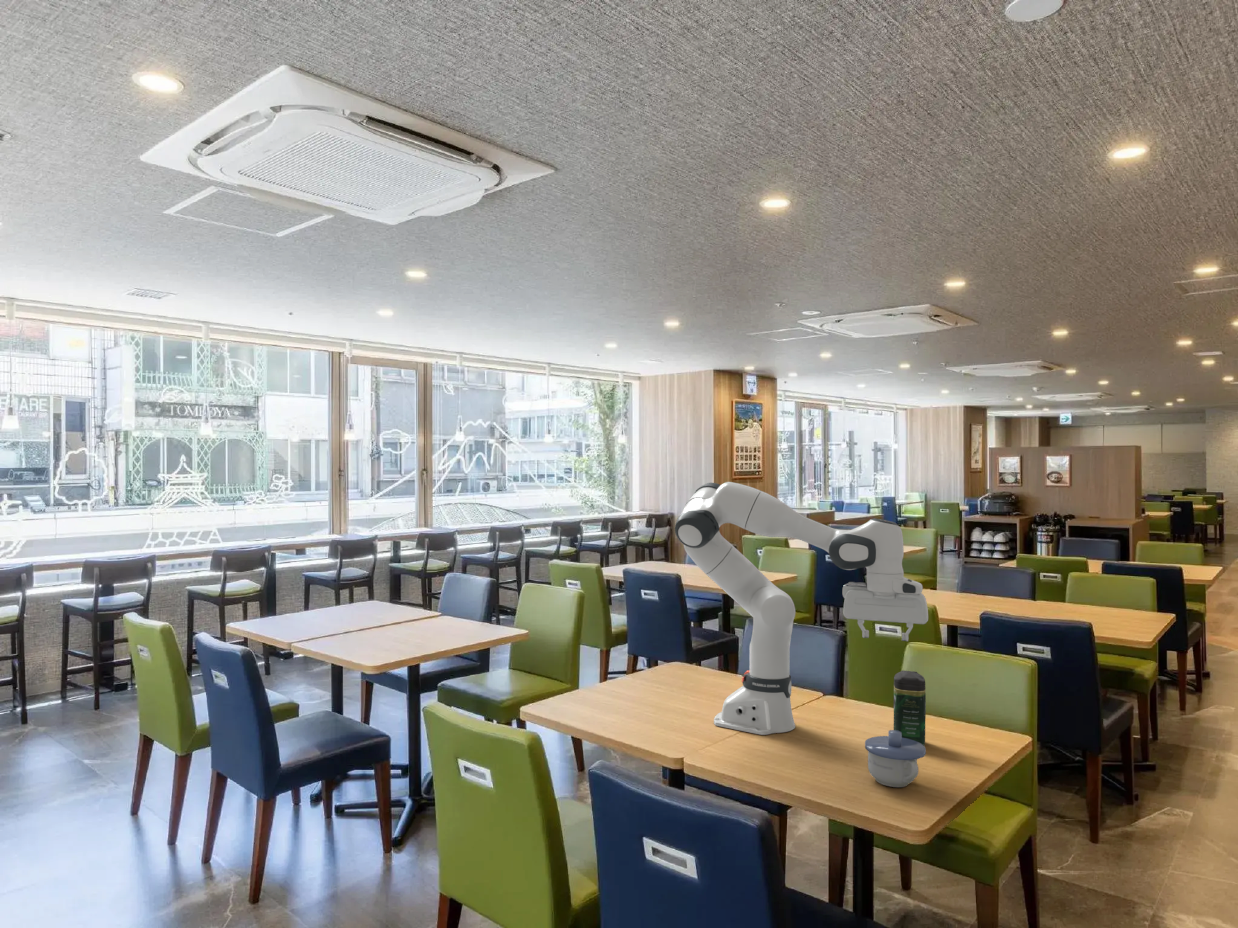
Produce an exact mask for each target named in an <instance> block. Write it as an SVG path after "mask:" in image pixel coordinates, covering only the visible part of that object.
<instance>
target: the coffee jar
mask: <svg viewBox="0 0 1238 928" xmlns="http://www.w3.org/2000/svg"><path fill="white" fill-rule="evenodd" d="M926 695H927V694H926V679H925V677H924V676H923V675H922V674H920V673H919V672H917V671H913V670H910V671H909V670H904V669H903V670H901V671H899V672H897V673H895V675H894V677H893V730H897V731H900V732H901V733H902V738H907V739H911V740H914V741H917V742H919V743H921V744H922V745H924V746H925V745H926V716H927V715H926V714H927V712H926V711H927V710H926V709H927V704H926V703H927V702H926V701H927V699H926V698H927V697H926ZM925 747H926V746H925Z"/></svg>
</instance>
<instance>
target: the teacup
mask: <svg viewBox="0 0 1238 928" xmlns="http://www.w3.org/2000/svg"><path fill="white" fill-rule="evenodd" d="M867 769H868V772H869V774H870V776H872V778H874V779H875V781H876V782H877V783H879V784H880V785H883V786H887V787H890V788H892V787H893V788H905V787H907V786H908V785H910V784H911V783H912V782H913V781H914V780H915V779H916V778H917V776H918V775H919V765H918V759H914V760H896V759H889V758H884V757H880V756H877V755H874V754H872V753H870V752H869V751H867Z"/></svg>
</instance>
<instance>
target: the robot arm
mask: <svg viewBox="0 0 1238 928" xmlns="http://www.w3.org/2000/svg"><path fill="white" fill-rule="evenodd" d="M675 522H676V523H675V524H674V534H675V537H676V538H677V539H678V541H679V542H680V543H681V544H682V545H683V549H684V551H685V553H686V554H687V555H688V557H690V559H691V560H692V561H693V563H694V564H695V565H696V566H697V568H699V569H700V570H701V571H702V572H703V573H704V574H705V575H706V576H707V577H709V579H710V580H712V581H713V583H715V584H716V585H717V586H718V587H719V588H720V589H721V590H723V591H724V592H725V593H726V594H727V595H728V596H729V597H731V599H733V601H735V602H736V603H737V604H738V605H739V606H740V607H741V608H742V609H743V610H744V611H745V612H746V613H748V614H749V616H751V617H752V621H753V622H752V633H751V640H750V642H749V670H746V671H745V672H744V673H743V675H742V677H741V683H742V686H740V687H739V688H738V689H736V690H735V691H733V692H732V693H731V694H729V695H728V696H727V697H726V698H725V699H724V701H723V704H722V709H721V711H720V712H718V713H717V714H716V715H715V716H714V718H713V724H714V726H716V727H722V728H727V729H730V730H735V731H740V732H747V733H751V734H754V735H760V736H761V735H762V736H765V735H771V734H776V733H777V734H780V733H787V732H791V731H793V730H794V729H795V728H796V722H795V719H794V715H793V711H792V710H793V709H792V703H791V702H792V701H791V696H792V678H791V677H792V676H791V674H790V650H791V649H790V647H791V640H792V633H793V628H794V619H795V618H796V606H795V603H794V600H793V599H792V597H791V596H790V595H789V593H786V591H784V590H783V589H781V588H779V587H778V586H777V585H775V584H774V583H773V582H772V581H771V580H770V579H768V578H767V577H766V575H764V574H763V573H762V572H761V571H760V569H758V568H757V566H755V564H754V563H753V562H751V561H750V560H749V559H748V558H747V557H746V556H744V554H743V553H742V552H740V551H739V550H738V549H737V548H736V547H735V546H734V545H733V544H732V543H730V541H728V540H727V539H726V538H725V537H724V536H723V535H722V534H721V532H720V527H721V526H722V525H724V524H731V525H735V526H737V527H739V528H741V529H743V530H746V531H748V532H750V533H753V534H755V535H756V534H757V535H759V536H764V537H769V538H777V537H778V538H779V537H784V538H785V537H786V538H793V539H797V540H799V541H802V542H804V543H807V544H809V545H812V546H814V547H817V548H819V549H822V550H823V551H825V552H827V553H828V555H829V558H830V560H831V562H832V563H833V564H834V565H835V566H836V567H838V568H840V569H842V570H846V571H852V570H857V569H862V568H866V582H855V581H849V582H848V583H845V584H844V585H843V587H842V597H843V599H844V602H843V607H842V608H843V610H842V611H843V617H844V618H845V619H848V620H857V625H858V627H859V629H860V630H861V634H862V635H861V637H862V638H863V639H869V637H870V630H868V629H866V627H865V626H864V624H865V621H874V622H875V621H876V622H887V623H903V624H906V628H908V629H907V630H906V632H902V633H901V642H909V635H910V633H911V632H912V630H913V628H914V624H916V625H925V624H927V622H928V621H929V610H928V604H927V603H928V602H927V598H926V596H925V595H924V594H923V593H922V592H923V590H924V587H923V584H922V583H920V582H918V581H916V580H913V579H910V578H907V577H905V573H904V568H903V559H904V555H905V554H904V536H903V531H902V528H901V526H900V525H899V524H898V523H896V522H894V521H890V520H887V519H883V518H871V519H869V520H868V521H867V522H865V523H863V524H861V525H859V526H857V527H855V528H849V527H848V528H835V527H832V526H829V525H826V524H824V523H821V522H819V521H816V520H814V519H812V518H809V517H806V516H805V515H802V514H800V513H799V512H797V511H796V510H795V509H793V508H792V507H790V506H789V505H788V504H786V503H785V502H783V501H781V500H780V499H779V498H777V497H775V496H773V495H771V494H769V493H768V492H765V491H762V490H760V489H757V488H755V487H752V486H749V485H745V484H742V483H738V482H734V481H733V482H732V481H725V482H724V483H721V484H719V483H717V482H707V483H705V484H703V485H701V486H700V487H698V488H697V489H696V490H695V492H694V493H693V495H692V496H691V497H690V498H689V499H688V500H687V501H686V504H685V505H684V508H683V509H682V511H681V513H680V514H679V515H678V517H677V519H676V521H675Z"/></svg>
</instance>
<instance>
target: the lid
mask: <svg viewBox="0 0 1238 928" xmlns="http://www.w3.org/2000/svg"><path fill="white" fill-rule="evenodd" d="M887 733H888V735H879V736H873V737H869V738H867V739H866V740H865V741H864V748H865V750H866V751H867V752H868V751H869V752H870V753H872V754H874V755H877V756H880V757H884V758H889V759H896V760H914V759H917V760H918V759H922V758H924V757H925V756H926V753H927V751H926V749H927V748H926V746H924V745H922V744H921V743H919V742H917V741H914V740H911V739H907V738H902V733H901V732H900V731H897V730H894V729H890V730H888V732H887Z"/></svg>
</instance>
